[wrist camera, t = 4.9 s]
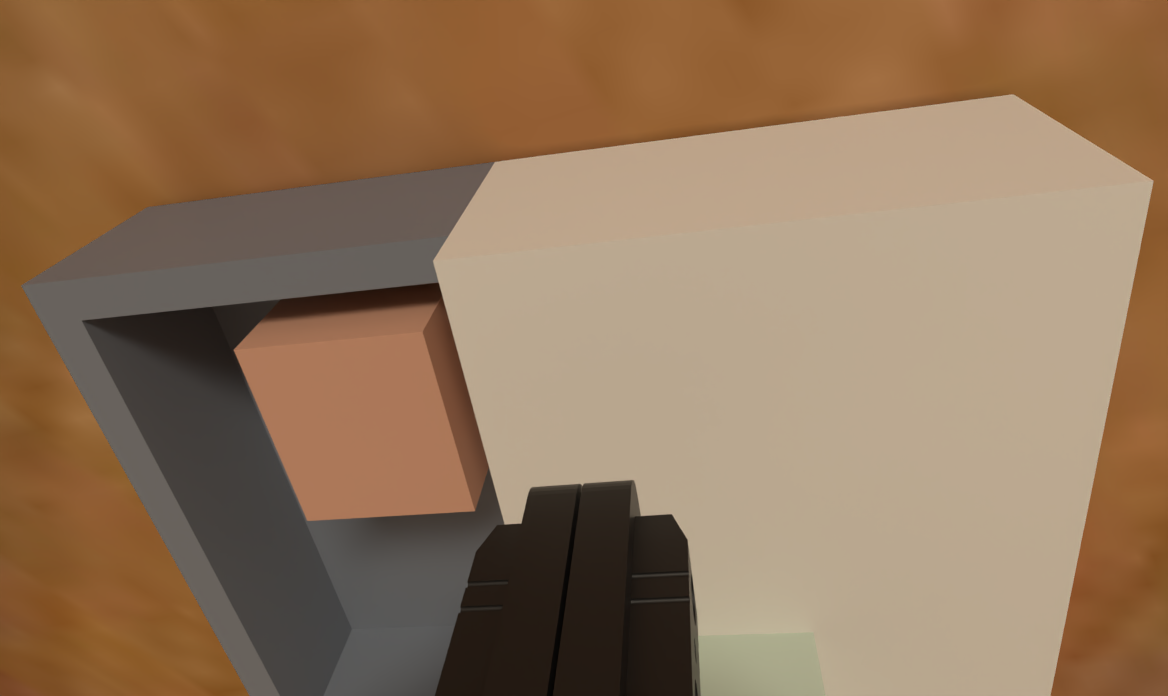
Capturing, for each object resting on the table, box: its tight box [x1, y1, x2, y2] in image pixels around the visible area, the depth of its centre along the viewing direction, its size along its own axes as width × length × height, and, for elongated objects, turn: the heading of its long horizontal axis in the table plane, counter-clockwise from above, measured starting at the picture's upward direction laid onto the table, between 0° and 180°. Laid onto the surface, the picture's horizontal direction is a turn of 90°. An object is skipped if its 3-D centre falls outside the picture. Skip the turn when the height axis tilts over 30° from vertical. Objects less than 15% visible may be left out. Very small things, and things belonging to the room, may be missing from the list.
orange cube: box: [234, 282, 489, 521], centre depth 16 cm, size 4×4×4 cm
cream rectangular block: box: [433, 95, 1153, 696], centre depth 17 cm, size 10×14×5 cm
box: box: [21, 162, 504, 696], centre depth 19 cm, size 8×14×4 cm, turn 9°
